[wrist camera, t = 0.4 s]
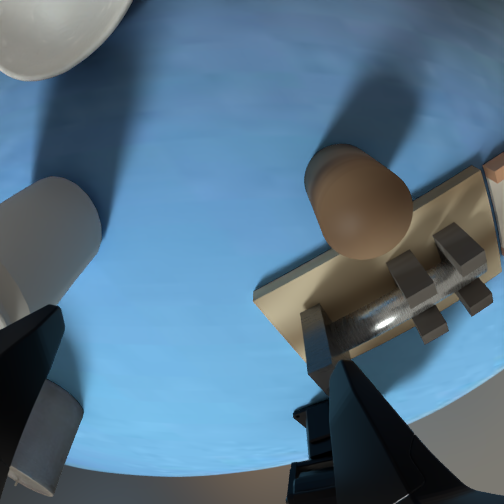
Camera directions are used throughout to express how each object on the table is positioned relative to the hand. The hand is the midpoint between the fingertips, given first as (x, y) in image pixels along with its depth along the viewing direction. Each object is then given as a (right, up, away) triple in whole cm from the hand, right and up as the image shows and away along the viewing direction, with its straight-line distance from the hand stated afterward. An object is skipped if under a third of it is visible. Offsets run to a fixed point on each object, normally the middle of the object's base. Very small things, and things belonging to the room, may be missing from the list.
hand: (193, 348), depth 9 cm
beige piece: (+13, +1, +14) cm, 19 cm away
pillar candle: (-25, -17, +25) cm, 39 cm away
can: (-12, +5, +13) cm, 19 cm away
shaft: (+12, 0, +13) cm, 18 cm away
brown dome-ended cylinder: (+7, +7, +11) cm, 15 cm away
